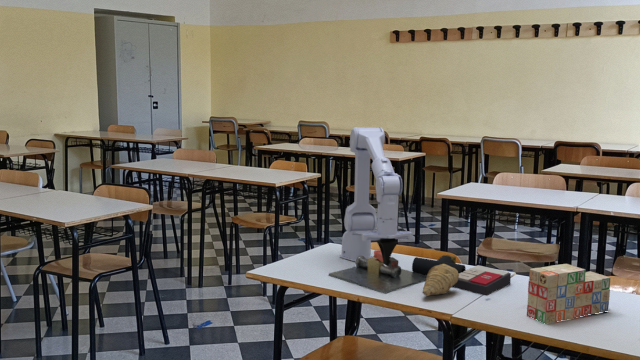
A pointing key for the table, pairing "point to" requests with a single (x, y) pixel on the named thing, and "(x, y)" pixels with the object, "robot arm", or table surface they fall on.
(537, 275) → the stack of blocks
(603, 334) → the table surface
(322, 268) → the table surface
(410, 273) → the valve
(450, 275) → the seashell
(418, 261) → the pipe connector
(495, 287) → the calculator
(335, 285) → the table surface
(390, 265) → the lever
